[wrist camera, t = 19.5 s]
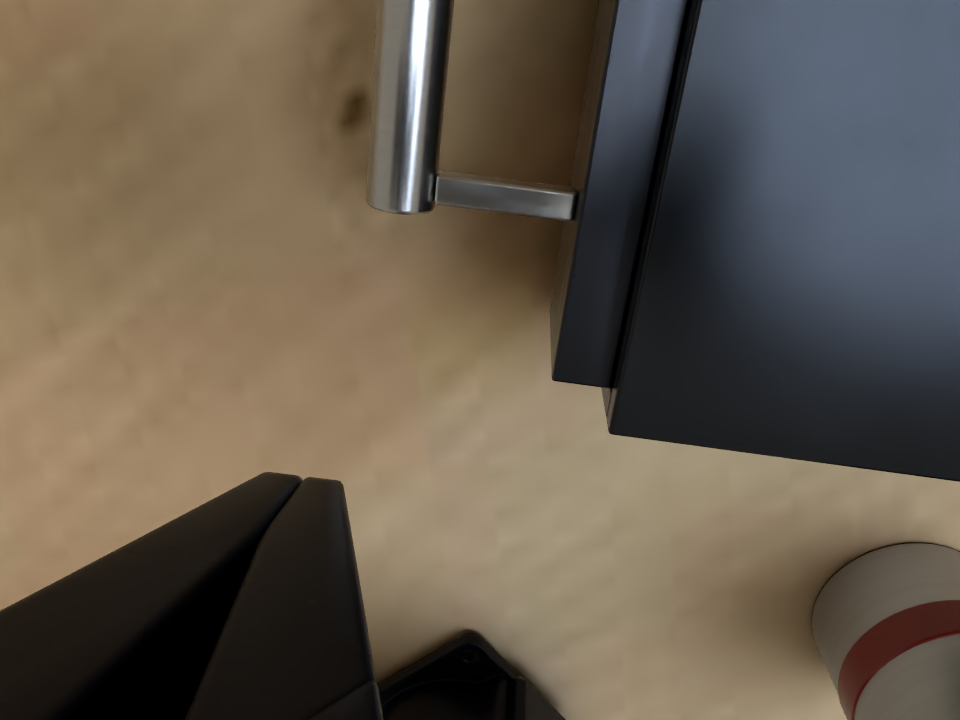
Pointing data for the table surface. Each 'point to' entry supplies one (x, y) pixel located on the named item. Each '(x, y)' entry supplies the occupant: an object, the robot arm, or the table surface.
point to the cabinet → (804, 240)
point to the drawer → (583, 206)
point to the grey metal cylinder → (894, 633)
